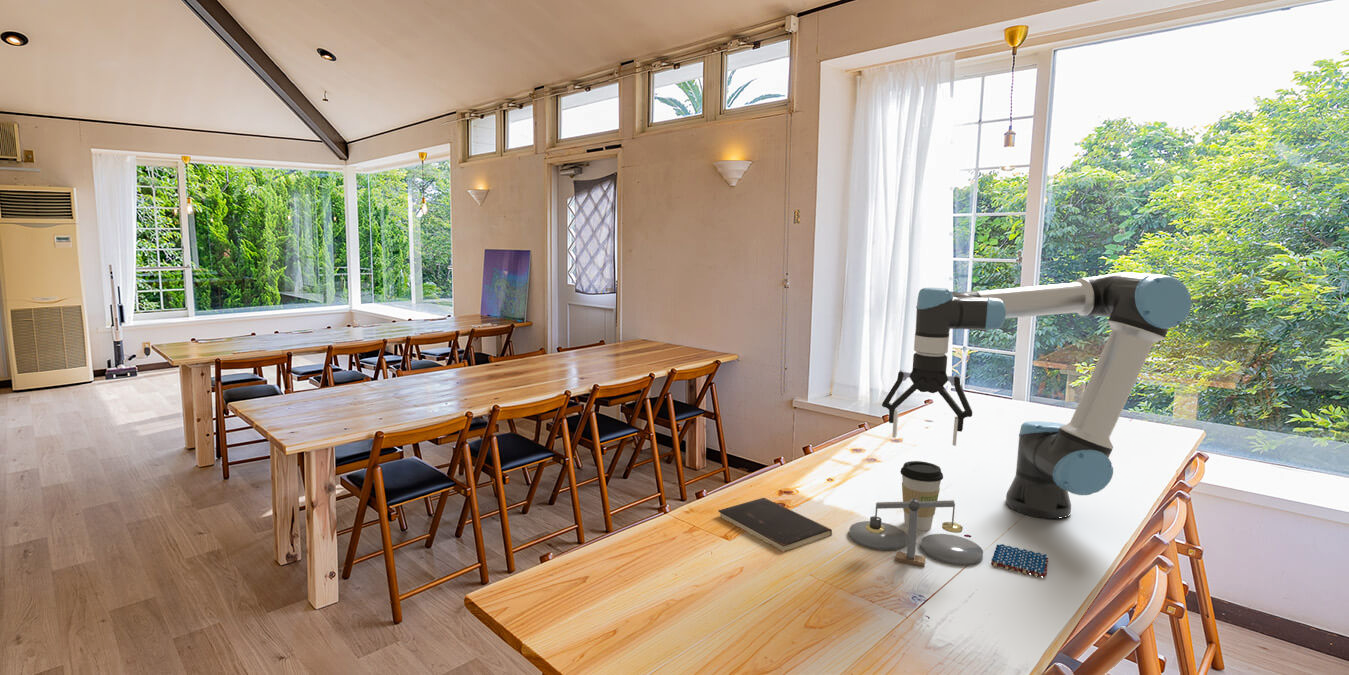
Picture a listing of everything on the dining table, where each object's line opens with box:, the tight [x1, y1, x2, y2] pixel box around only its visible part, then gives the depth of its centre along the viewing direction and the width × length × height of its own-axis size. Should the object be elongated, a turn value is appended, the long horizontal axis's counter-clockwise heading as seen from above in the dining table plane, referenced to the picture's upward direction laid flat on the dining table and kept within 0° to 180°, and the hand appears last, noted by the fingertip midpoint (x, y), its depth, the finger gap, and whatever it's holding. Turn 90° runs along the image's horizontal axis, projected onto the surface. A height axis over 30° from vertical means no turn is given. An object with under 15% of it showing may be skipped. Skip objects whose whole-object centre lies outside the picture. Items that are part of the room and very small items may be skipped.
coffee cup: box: [899, 460, 944, 532], centre depth 164 cm, size 10×10×15 cm
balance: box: [866, 498, 964, 568], centre depth 146 cm, size 20×4×15 cm, turn 66°
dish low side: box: [849, 520, 908, 551], centre depth 158 cm, size 13×13×1 cm
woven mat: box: [990, 543, 1049, 577], centre depth 147 cm, size 10×11×2 cm
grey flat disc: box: [920, 533, 984, 566], centre depth 152 cm, size 13×13×1 cm
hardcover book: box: [717, 497, 833, 552], centre depth 164 cm, size 16×23×2 cm
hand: (923, 440), depth 162 cm, fingers open, 13 cm apart
